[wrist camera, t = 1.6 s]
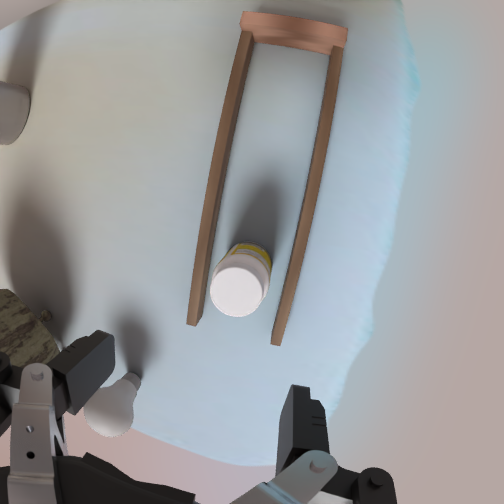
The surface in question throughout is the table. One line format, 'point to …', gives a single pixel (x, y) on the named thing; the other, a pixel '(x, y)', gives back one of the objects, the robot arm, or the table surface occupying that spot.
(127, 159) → the table surface
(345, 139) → the table surface
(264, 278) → the supplement bottle
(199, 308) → the guide track
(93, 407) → the lightbulb
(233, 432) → the table surface
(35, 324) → the tabletop clock
